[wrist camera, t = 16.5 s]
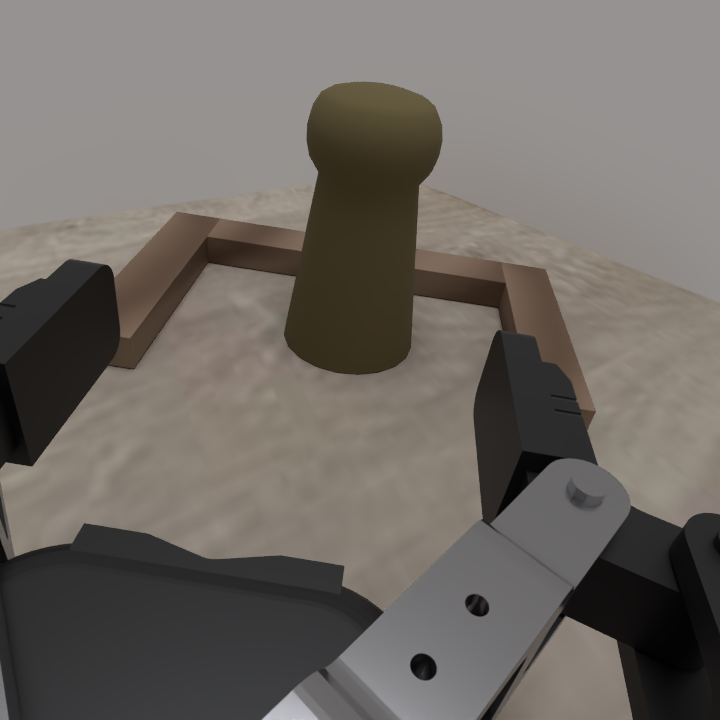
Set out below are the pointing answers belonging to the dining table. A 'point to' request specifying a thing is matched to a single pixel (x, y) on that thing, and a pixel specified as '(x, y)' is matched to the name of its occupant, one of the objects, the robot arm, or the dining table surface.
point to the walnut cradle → (282, 255)
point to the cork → (362, 226)
